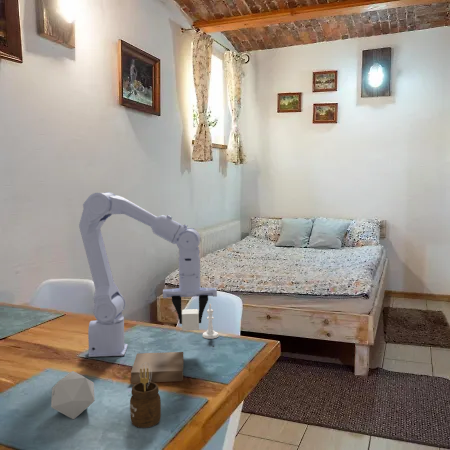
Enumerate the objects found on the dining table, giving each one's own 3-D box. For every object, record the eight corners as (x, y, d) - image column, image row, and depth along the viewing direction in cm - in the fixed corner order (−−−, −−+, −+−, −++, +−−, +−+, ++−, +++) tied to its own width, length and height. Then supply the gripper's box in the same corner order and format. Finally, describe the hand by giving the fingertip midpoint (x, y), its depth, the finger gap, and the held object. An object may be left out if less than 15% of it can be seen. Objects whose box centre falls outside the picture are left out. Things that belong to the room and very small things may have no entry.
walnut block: (131, 384, 108) (130, 372, 107) (137, 364, 120) (136, 353, 119) (182, 382, 108) (182, 370, 108) (183, 363, 120) (183, 351, 120)
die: (68, 403, 99) (41, 377, 94) (103, 382, 100) (77, 355, 95) (68, 434, 92) (38, 408, 87) (105, 412, 93) (77, 385, 88)
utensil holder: (160, 412, 94) (159, 355, 93) (161, 428, 87) (160, 367, 86) (131, 414, 93) (129, 357, 92) (129, 431, 86) (128, 369, 85)
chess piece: (219, 333, 142) (219, 301, 141) (217, 339, 137) (217, 306, 136) (203, 333, 143) (203, 301, 142) (201, 338, 138) (200, 305, 137)
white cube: (182, 330, 123) (181, 314, 123) (182, 325, 128) (182, 309, 127) (198, 330, 124) (198, 313, 123) (198, 324, 128) (198, 309, 128)
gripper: (161, 277, 120) (162, 328, 121) (217, 275, 121) (217, 326, 122) (163, 272, 127) (164, 320, 128) (215, 270, 128) (216, 318, 129)
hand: (190, 322), depth 126 cm, fingers closed on white cube, 4 cm apart
